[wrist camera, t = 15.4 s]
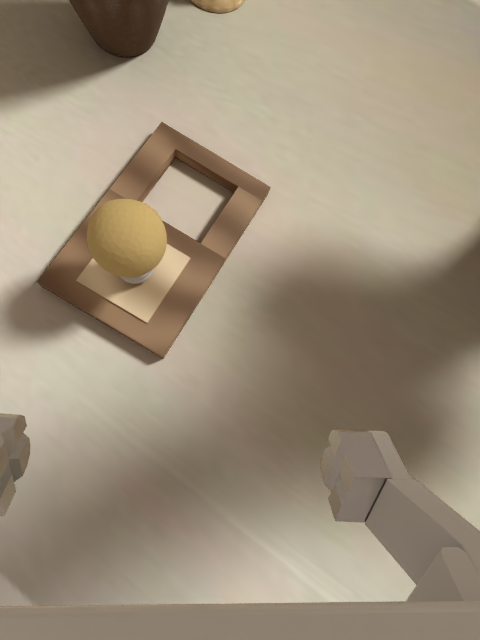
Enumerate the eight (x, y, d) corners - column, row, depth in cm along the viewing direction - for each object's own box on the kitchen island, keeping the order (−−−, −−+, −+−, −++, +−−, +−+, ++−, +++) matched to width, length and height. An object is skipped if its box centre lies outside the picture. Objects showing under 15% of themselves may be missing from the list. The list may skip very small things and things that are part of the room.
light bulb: (171, 242, 42) (170, 189, 32) (165, 302, 40) (160, 265, 30) (107, 234, 41) (85, 178, 31) (98, 295, 39) (72, 255, 30)
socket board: (162, 131, 46) (161, 120, 45) (267, 194, 46) (271, 186, 45) (42, 286, 40) (36, 281, 39) (163, 358, 40) (162, 356, 39)
